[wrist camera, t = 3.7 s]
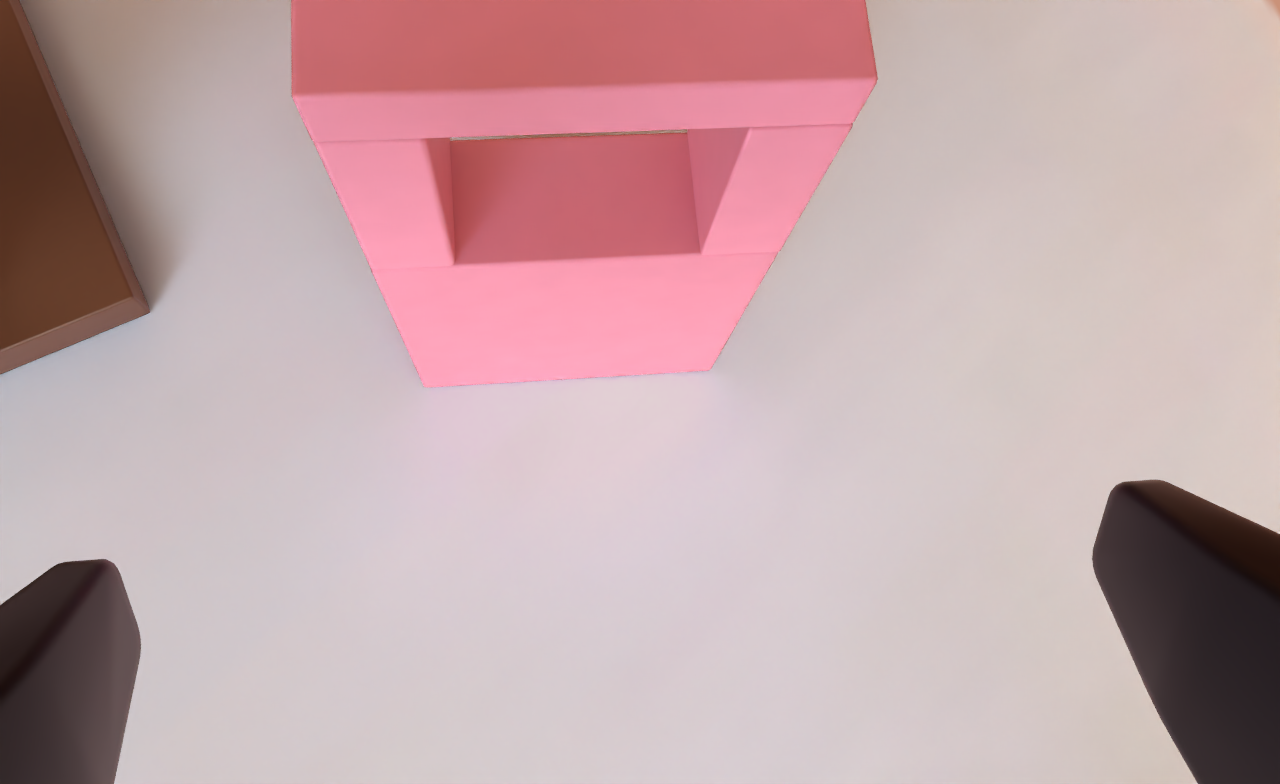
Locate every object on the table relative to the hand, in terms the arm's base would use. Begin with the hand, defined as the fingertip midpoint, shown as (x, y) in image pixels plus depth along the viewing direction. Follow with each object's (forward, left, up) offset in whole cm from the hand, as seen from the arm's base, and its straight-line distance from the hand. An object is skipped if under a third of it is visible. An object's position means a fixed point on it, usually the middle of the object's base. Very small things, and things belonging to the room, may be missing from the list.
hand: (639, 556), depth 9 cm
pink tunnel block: (+3, -5, -13) cm, 14 cm away
